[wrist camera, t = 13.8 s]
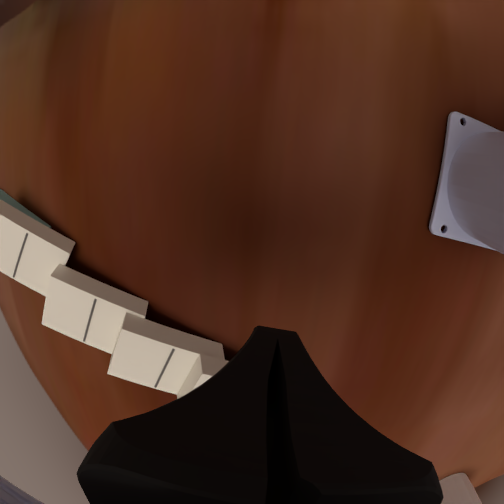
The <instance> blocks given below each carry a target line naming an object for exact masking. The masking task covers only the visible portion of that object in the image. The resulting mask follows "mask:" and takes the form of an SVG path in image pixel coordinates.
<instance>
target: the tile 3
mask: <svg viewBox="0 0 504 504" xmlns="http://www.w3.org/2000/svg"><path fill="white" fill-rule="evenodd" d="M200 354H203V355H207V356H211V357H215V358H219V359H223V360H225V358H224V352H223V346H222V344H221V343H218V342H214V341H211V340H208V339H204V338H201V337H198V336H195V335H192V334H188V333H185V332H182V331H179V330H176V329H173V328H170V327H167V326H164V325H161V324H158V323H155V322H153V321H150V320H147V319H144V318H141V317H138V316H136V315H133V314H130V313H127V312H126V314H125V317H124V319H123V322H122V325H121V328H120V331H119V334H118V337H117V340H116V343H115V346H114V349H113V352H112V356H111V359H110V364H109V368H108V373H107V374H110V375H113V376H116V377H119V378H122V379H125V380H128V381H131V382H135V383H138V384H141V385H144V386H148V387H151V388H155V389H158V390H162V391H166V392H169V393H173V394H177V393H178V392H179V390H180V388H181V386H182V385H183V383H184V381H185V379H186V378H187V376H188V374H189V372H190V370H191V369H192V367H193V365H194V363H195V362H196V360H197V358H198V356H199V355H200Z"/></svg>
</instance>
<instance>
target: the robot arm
mask: <svg viewBox="0 0 504 504" xmlns="http://www.w3.org/2000/svg"><path fill="white" fill-rule="evenodd" d="M460 119H462V120H463V122H464V124H463V125H461V123H460ZM443 225H444V226H445V229H444V231H443V232H441V227H442V226H443ZM429 230H430V232H431V233H433V234H434V235H437V236H441V237H446V238H450V239H454V240H458V241H462V242H466V243H469V244H473V245H477V246H481V247H485V248H489V249H492V250H496V251H498V252H500V253H502V254H504V132H501V131H499V130H497V129H495V128H493V127H491V126H489V125H487V124H484V123H482V122H480V121H478V120H475V119H473V118H471V117H468V116H466V115H464V114H461V113H459V112H451V113H450V114H449V116H448V123H447V131H446V139H445V146H444V153H443V159H442V165H441V171H440V176H439V182H438V187H437V192H436V197H435V201H434V206H433V210H432V215H431V219H430V223H429ZM77 477H78V480H79V483H80V485H81V487H82V489H83V491H84V493H85V495H86V497H87V499H88V501H89V503H90V504H441V502H442V500H443V498H444V497H443V492H442V489H441V485H440V482H439V479H438V476H437V473H436V471H435V468H434V466H433V464H432V462H430V461H428V460H426V459H424V458H422V457H420V456H418V455H416V454H414V453H412V452H410V451H409V450H407V449H405V448H403V447H401V446H399V445H398V444H396V443H395V442H393V441H392V440H390V439H389V438H387V437H386V436H384V435H383V434H381V433H380V432H378V431H377V430H376V429H374V428H373V427H372V426H370V425H369V424H368V423H367V422H366V421H364V420H363V419H362V418H361V417H360V416H358V415H357V414H356V413H355V412H354V411H353V410H352V409H351V408H350V407H349V406H348V405H347V404H346V403H345V402H344V401H343V400H342V399H341V398H340V397H339V396H338V395H337V394H336V392H335V391H334V390H333V389H332V388H331V386H330V385H329V384H328V383H327V381H326V380H325V379H324V377H323V376H322V374H321V373H320V372H319V370H318V368H317V367H316V365H315V364H314V362H313V361H312V359H311V358H310V356H309V354H308V352H307V351H306V349H305V347H304V345H303V344H302V342H301V340H300V338H299V336H298V334H297V333H296V332H294V331H287V330H281V329H275V328H269V327H264V326H257V327H255V328H254V331H253V333H252V334H251V336H250V337H249V339H248V340H247V342H246V343H245V344H244V346H243V347H242V348H241V349H240V350H239V351H238V353H237V354H236V355H235V356H234V357H233V358H232V359H231V360H230V361H229V362H228V363H227V364H226V365H225V366H224V367H223V368H222V369H221V370H219V371H218V372H217V373H216V374H215V375H213V376H212V377H211V378H210V379H208V380H207V381H206V382H204V383H203V384H201V385H200V386H198V387H197V388H195V389H194V390H192V391H190V392H189V393H187V394H186V395H184V396H182V397H180V398H178V399H176V400H174V401H172V402H170V403H168V404H166V405H163V406H161V407H159V408H157V409H154V410H152V411H149V412H147V413H144V414H140V415H137V416H134V417H130V418H127V419H123V420H119V421H115V422H112V423H111V424H110V425H109V426H108V427H107V428H106V430H105V431H104V432H103V433H102V434H101V435H100V437H99V438H98V439H97V440H96V441H95V442H94V444H93V445H92V447H91V448H90V450H89V452H88V453H87V455H86V457H85V458H84V460H83V462H82V463H81V465H80V467H79V469H78V471H77ZM0 504H44V503H42V502H40V501H39V500H37V499H35V498H34V497H32V496H30V495H29V494H27V493H25V492H24V491H22V490H21V489H19V488H18V487H16V486H14V485H13V484H12V483H10V482H8V481H7V480H6V479H4V478H3V477H1V476H0Z"/></svg>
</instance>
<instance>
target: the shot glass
mask: <svg viewBox="0 0 504 504" xmlns="http://www.w3.org/2000/svg"><path fill="white" fill-rule="evenodd" d="M439 482H440V485H441V489H442V492H443V497H444V498H443V500H442V502H441V504H482V502H481V500H480V498H479V497H478V495H477V493H476V491H475V489H474V487H473V485H472V484H471V482H470V480H469V478H468V476H467V475H466V474H465V473H457V474H453V475H450V476H448V477H446V478H444V479H442V480H440V481H439Z"/></svg>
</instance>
